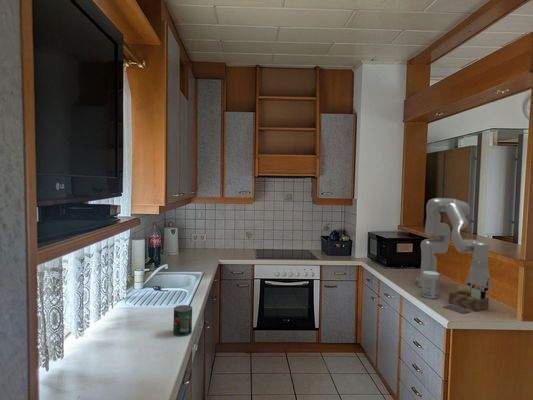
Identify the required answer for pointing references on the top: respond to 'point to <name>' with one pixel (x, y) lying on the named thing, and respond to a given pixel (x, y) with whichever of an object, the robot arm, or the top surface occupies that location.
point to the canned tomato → (182, 320)
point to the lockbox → (468, 301)
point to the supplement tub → (430, 284)
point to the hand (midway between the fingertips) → (477, 296)
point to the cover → (476, 292)
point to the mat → (457, 309)
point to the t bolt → (464, 289)
